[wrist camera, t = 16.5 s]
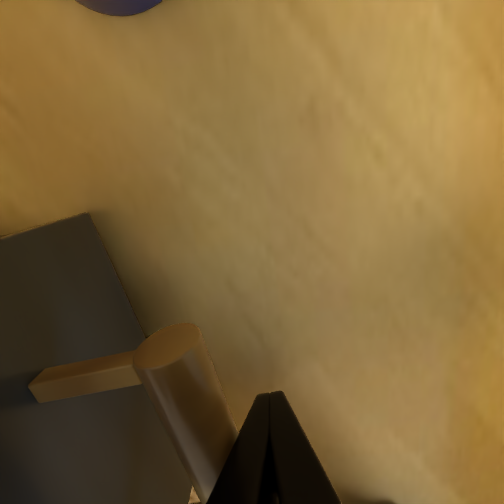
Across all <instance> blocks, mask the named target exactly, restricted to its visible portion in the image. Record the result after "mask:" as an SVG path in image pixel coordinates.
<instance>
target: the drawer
mask: <svg viewBox="0 0 504 504" xmlns="http://www.w3.org/2000/svg"><path fill="white" fill-rule="evenodd" d="M238 434H239V433H238V431H237V428H236V425H235V423H234V420H233V417H232V415H231V412H230V409H229V407H228V404H227V401H226V399H225V396H224V393H223V390H222V388H221V385H220V382H219V380H218V377H217V374H216V372H215V369H214V366H213V364H212V361H211V358H210V356H209V353H208V350H207V348H206V345H205V342H204V340H203V337H202V334H201V331H200V329H199V328H198V327H197V326H196V325H194V324H191V323H179V324H174V325H171V326H168V327H165V328H163V329H161V330H159V331H157V332H155V333H154V334H152V335H151V336H149V337H148V338H147V339H146V338H145V336H144V334H143V331H142V329H141V327H140V325H139V323H138V320H137V318H136V316H135V314H134V312H133V309H132V307H131V305H130V303H129V301H128V298H127V296H126V294H125V292H124V290H123V287H122V285H121V283H120V281H119V279H118V276H117V274H116V272H115V270H114V268H113V265H112V263H111V261H110V259H109V257H108V254H107V252H106V250H105V248H104V245H103V243H102V241H101V239H100V237H99V234H98V232H97V230H96V228H95V226H94V223H93V221H92V219H91V217H90V215H89V213H82V214H78V215H74V216H71V217H67V218H63V219H60V220H56V221H53V222H50V223H46V224H43V225H40V226H36V227H33V228H30V229H26V230H23V231H20V232H16V233H13V234H9V235H6V236H3V237H0V504H188V502H189V498H190V493H191V488H192V485H193V487H194V489H195V491H196V493H197V495H198V497H199V500H200V502H198V503H191V504H206V502H207V500H208V498H209V496H210V494H211V492H212V490H213V488H214V485H215V483H216V481H217V479H218V477H219V475H220V473H221V470H222V468H223V466H224V464H225V462H226V460H227V458H228V456H229V453H230V451H231V449H232V447H233V445H234V443H235V441H236V439H237V436H238Z"/></svg>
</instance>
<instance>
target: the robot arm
mask: <svg viewBox="0 0 504 504" xmlns="http://www.w3.org/2000/svg"><path fill="white" fill-rule="evenodd" d="M206 504H341V501H340V499H339V497H338V495H337V494H336V492H335V490H334V488H333V486H332V484H331V482H330V480H329V478H328V476H327V475H326V473H325V471H324V469H323V467H322V465H321V463H320V461H319V459H318V457H317V455H316V454H315V452H314V450H313V448H312V446H311V444H310V442H309V440H308V438H307V436H306V435H305V433H304V431H303V429H302V427H301V425H300V423H299V421H298V419H297V417H296V415H295V414H294V412H293V410H292V408H291V406H290V404H289V402H288V400H287V398H286V396H285V395H284V393H283V391H275V392H271V393H263V394H258V395H257V396H256V398H255V400H254V402H253V405H252V407H251V409H250V411H249V413H248V415H247V417H246V419H245V422H244V424H243V426H242V428H241V430H240V432H239V434H238V436H237V439H236V441H235V443H234V445H233V447H232V449H231V451H230V453H229V456H228V458H227V460H226V462H225V464H224V466H223V468H222V470H221V473H220V475H219V477H218V479H217V481H216V483H215V485H214V488H213V490H212V492H211V494H210V496H209V498H208V500H207V502H206Z"/></svg>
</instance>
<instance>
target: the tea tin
mask: <svg viewBox="0 0 504 504" xmlns="http://www.w3.org/2000/svg"><path fill="white" fill-rule="evenodd" d="M75 1H77V2H78V3H80V4H82V5H84V6H85V7H87V8H89V9H92V10H94V11H97V12H99V13H104V14H108V15H116V16H125V15H133V14H137V13H141V12H143V11H146V10H148V9H150V8H152V7H153V6H155V5H156V4H158V3H160V2H161V1H162V0H75Z"/></svg>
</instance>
